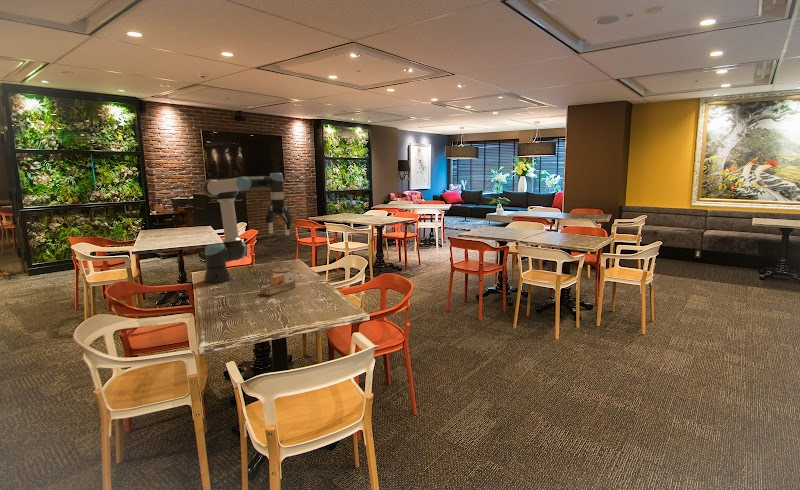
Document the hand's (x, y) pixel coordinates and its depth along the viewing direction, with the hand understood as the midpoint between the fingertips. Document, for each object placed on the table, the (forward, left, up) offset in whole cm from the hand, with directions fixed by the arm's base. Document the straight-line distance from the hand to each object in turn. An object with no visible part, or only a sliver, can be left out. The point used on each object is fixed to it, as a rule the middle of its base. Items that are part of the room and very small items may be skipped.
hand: (279, 234), depth 258 cm
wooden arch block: (+7, -10, -32) cm, 34 cm away
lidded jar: (-6, +6, -32) cm, 33 cm away
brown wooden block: (+7, -10, -32) cm, 34 cm away
